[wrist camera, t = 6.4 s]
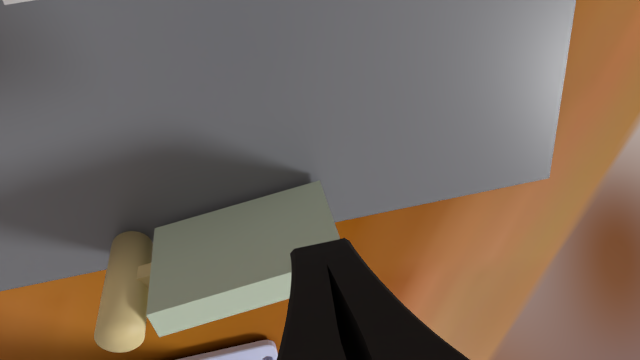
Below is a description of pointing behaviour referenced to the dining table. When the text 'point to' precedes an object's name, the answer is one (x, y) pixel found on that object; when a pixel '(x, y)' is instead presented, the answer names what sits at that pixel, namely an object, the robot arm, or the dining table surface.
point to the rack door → (208, 265)
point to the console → (260, 111)
